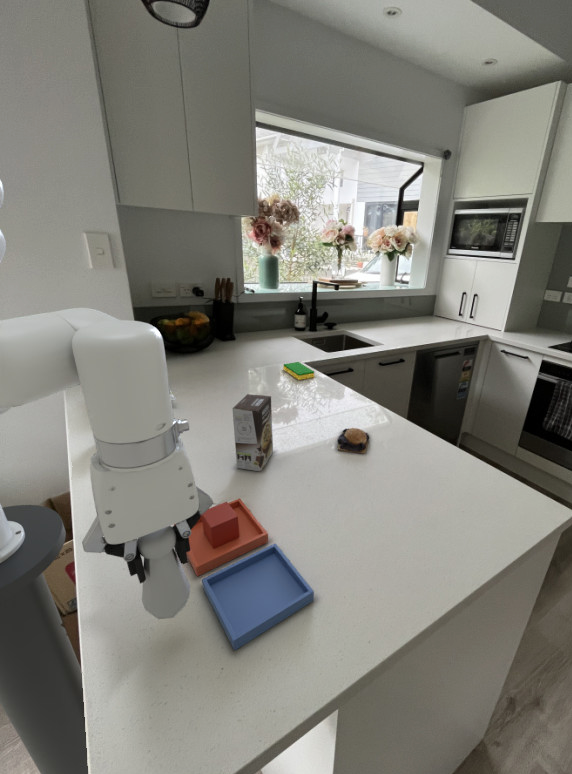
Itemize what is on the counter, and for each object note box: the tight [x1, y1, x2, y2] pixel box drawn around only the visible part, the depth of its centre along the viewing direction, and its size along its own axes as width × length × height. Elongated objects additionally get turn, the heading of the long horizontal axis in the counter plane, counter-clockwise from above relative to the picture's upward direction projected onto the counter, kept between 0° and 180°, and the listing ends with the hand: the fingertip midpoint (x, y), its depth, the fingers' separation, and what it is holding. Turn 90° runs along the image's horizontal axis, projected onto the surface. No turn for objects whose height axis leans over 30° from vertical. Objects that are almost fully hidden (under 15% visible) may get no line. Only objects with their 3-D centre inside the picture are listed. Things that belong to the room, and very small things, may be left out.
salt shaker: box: [137, 525, 191, 621], centre depth 48 cm, size 6×6×13 cm
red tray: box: [173, 497, 269, 577], centre depth 70 cm, size 13×12×2 cm
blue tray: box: [201, 543, 315, 651], centre depth 59 cm, size 13×12×2 cm
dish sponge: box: [282, 361, 315, 381], centre depth 152 cm, size 7×14×2 cm, turn 33°
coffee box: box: [231, 393, 274, 472], centre depth 91 cm, size 9×6×16 cm
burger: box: [337, 427, 370, 455], centre depth 103 cm, size 11×8×4 cm
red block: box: [201, 501, 240, 549], centre depth 69 cm, size 5×5×5 cm
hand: (161, 564), depth 47 cm, fingers closed on salt shaker, 4 cm apart
